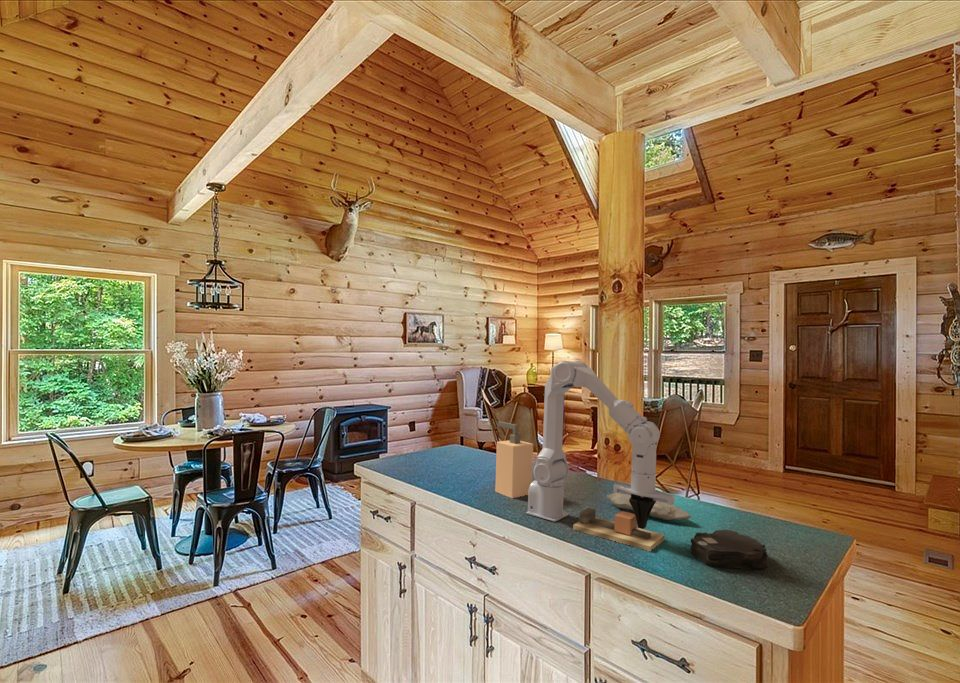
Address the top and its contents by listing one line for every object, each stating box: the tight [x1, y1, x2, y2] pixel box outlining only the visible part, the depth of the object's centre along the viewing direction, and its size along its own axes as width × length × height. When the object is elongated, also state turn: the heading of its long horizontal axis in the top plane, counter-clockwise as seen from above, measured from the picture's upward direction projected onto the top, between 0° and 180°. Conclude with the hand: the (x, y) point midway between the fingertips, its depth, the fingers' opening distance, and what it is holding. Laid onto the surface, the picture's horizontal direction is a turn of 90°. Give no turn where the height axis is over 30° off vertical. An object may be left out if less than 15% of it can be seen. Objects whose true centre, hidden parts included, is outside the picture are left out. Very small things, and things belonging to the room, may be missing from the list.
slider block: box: [614, 510, 638, 535], centre depth 120 cm, size 4×5×4 cm
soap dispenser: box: [494, 420, 534, 499], centre depth 157 cm, size 13×9×22 cm
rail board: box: [572, 507, 666, 552], centre depth 121 cm, size 20×10×4 cm, turn 51°
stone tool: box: [606, 492, 692, 521], centre depth 139 cm, size 12×5×25 cm
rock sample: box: [690, 529, 769, 570], centre depth 109 cm, size 18×16×5 cm
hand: (642, 527), depth 118 cm, fingers closed
